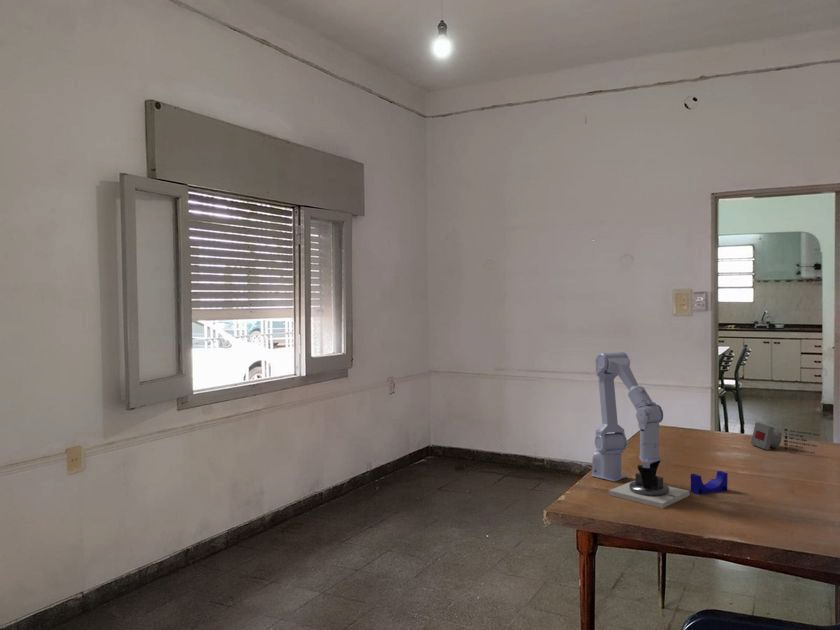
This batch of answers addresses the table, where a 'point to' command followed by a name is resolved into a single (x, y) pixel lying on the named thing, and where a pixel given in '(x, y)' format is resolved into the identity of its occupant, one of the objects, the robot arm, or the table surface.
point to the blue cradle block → (709, 484)
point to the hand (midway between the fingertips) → (649, 485)
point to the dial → (656, 488)
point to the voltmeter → (772, 437)
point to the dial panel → (649, 496)
